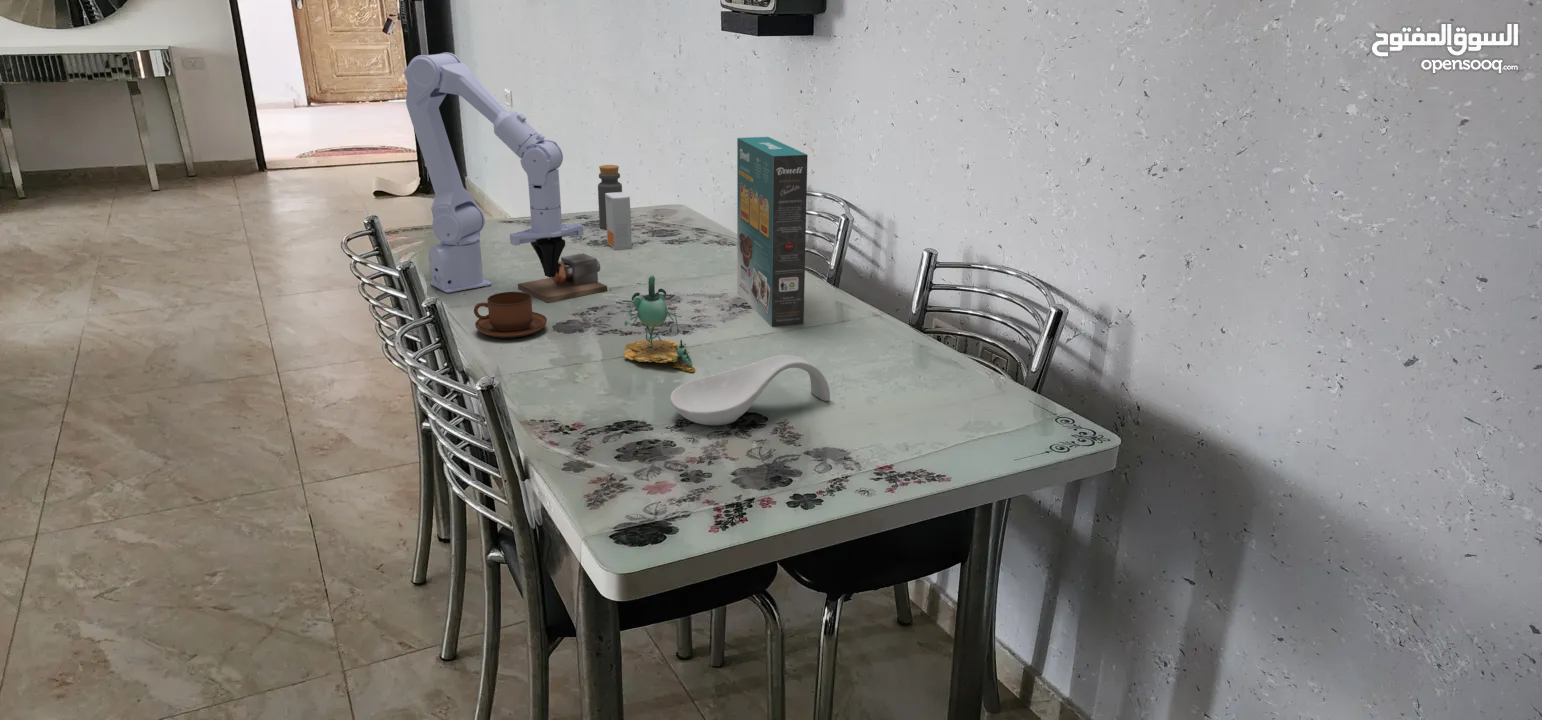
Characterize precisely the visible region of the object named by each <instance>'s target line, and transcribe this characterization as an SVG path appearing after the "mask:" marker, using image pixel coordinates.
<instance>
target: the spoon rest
mask: <svg viewBox="0 0 1542 720" xmlns="http://www.w3.org/2000/svg"><path fill="white" fill-rule="evenodd" d="M787 369H800V370H803V371H804V372H807V373H808V375H809V380H810V392H811V393H812V394H813V395H814V396H815V397H816V398H818V399H820V400H821V401H825V402H828V401H830V400H831V391H830V386H829V384H828V381H827V379H826V377H825V375H824V374H823V372H822V371H821V370H820V369H819V368H818V367H817V366H815V365H813V364H811V362H809V361H807V360H806V359H804V358H803V357H800V356H796V355H789V354H779V355H773V356H770V357H767V358H764V359H761V360H758V361H755V362H753V363H752V362H751V363H749V364H746V365H743V366H739V367H737V368H734V369H729V370H726V371H724V372H719V373H715V374H712V375H707V376H703V377H699V378H695V379H693V380H689V381H687V382H684V383H682V384H681V385H678V386H677V387H676V388H675V389H674V390H673V391H672V392H671V394H670V397H669V399H670V400H669V401H670V404H671V405H672V407H673V408H674V410H675V411H677V413H679V414H680V415H681V416H682V417H683V418H685V419H686V420H688V421H691V422H692V423H696V424H699V425H704V426H712V427H713V426H715V427H716V426H724V425H729V424H732V423H734V422H736V421H737V420H738V419H739V418H740V417H741V416H743V415H744V414H745V413H746V412H747V411H748V410H749V409H750V408H751V407H752V405H753V404H754V402H755V401H757V399H758V398H759V397H760V396H761V394H762V392H763V391H764V390H765V389H766V387H767V386H768V385H769V383H770V382H772V381H773V379H774V378H776V376H778V375H779V374H780V373H781V372H784V371H786V370H787Z"/></svg>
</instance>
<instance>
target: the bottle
mask: <svg viewBox="0 0 1542 720" xmlns="http://www.w3.org/2000/svg"><path fill="white" fill-rule="evenodd" d="M619 169H620V166H619V165H616V164H604V165H603V164H602V165H600V166H599V171H600V173H598V178H599V179H600V180H601V182H599V183H598V184H597V197H598V198H597V199H598V216H599V220H598V221H599V228H600V229H602V230H607V223H606V202H605V193H615V192H622V193H623V185H622V183H621V182H619V179H620V178H621V174H620V172H619Z"/></svg>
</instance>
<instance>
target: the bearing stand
mask: <svg viewBox="0 0 1542 720" xmlns="http://www.w3.org/2000/svg"><path fill="white" fill-rule="evenodd" d="M597 260H598V258H596V257H593V256H592V255H589V254H585V253H577V254H572V255H566V256H560V261H561V262H563V264H564V265H565V266H566V265H572V273H573V277H568V278H567V281H566V283H564V284H559V285H557V284H556V283H555V282H554V281H553V279H552V277H547V278H541V279H537V280H536V279H535V280H530V281H525V282H520V283H517V288H518V290H521V291H523V293H527V294H529V295H531V296H533V297H534V298H537V299H538V300H541V301H543V302H545V303H548V304H549V303H554V302H558V301H563V300H569V299H572V298H578V297H584V296H588V295H593V294H598V293H602V292H607V291H608V285H606V284H604V283H601V282H599V277H598V273H599V272H597Z"/></svg>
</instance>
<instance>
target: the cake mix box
mask: <svg viewBox="0 0 1542 720" xmlns="http://www.w3.org/2000/svg"><path fill="white" fill-rule="evenodd" d="M736 141H737V142H736V144H737V147H736V150H737V162H736V164H737V165H736V166H737V171H736V173H737V177H736V179H737V182H736V183H737V185H736V187H737V188H736V189H737V190H736V191H737V192H736V193H737V195H736V196H737V199H736V200H737V205H736V208H737V214H736V215H737V222H736V223H737V226H736V227H737V233H736V234H737V244H736V245H737V255H736V256H737V263H736V264H737V267H736V268H737V269H736V270H737V272H736V273H737V276H736V277H737V278H736V279H737V283H736V284H737V294H738V295H739V296H740V297H741V298H742V299H743V300H744V301H745V302H746V303H747V304H748V305H749V306H750V307H751V308H752V310H754V311H755V312H756V313H757V314H758V315H759V316H760V317H761V318H762V319H763V320H764V321H765V322H766V323H767V324H768V325H769V326H770V327H771V328H774V327H784V326H795V325H804V322H805V319H804V318H805V317H804V316H805V313H804V312H805V287H806V285H805V284H806V283H805V282H806V281H805V280H806V275H805V274H806V239H807V238H806V237H807V236H806V235H807V233H806V232H807V230H806V229H807V197H808V195H807V192H808V191H807V189H808V187H807V186H808V154H806V153H804V152H802V151H800V150H798V149H796V148H794V147H792V146H790V145H787V144H785V143H782V142H780V141H778V140H777V139H774V138H771V137H769V136H755V137H754V136H753V137H752V136H751V137H749V136H748V137H737V140H736Z"/></svg>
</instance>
